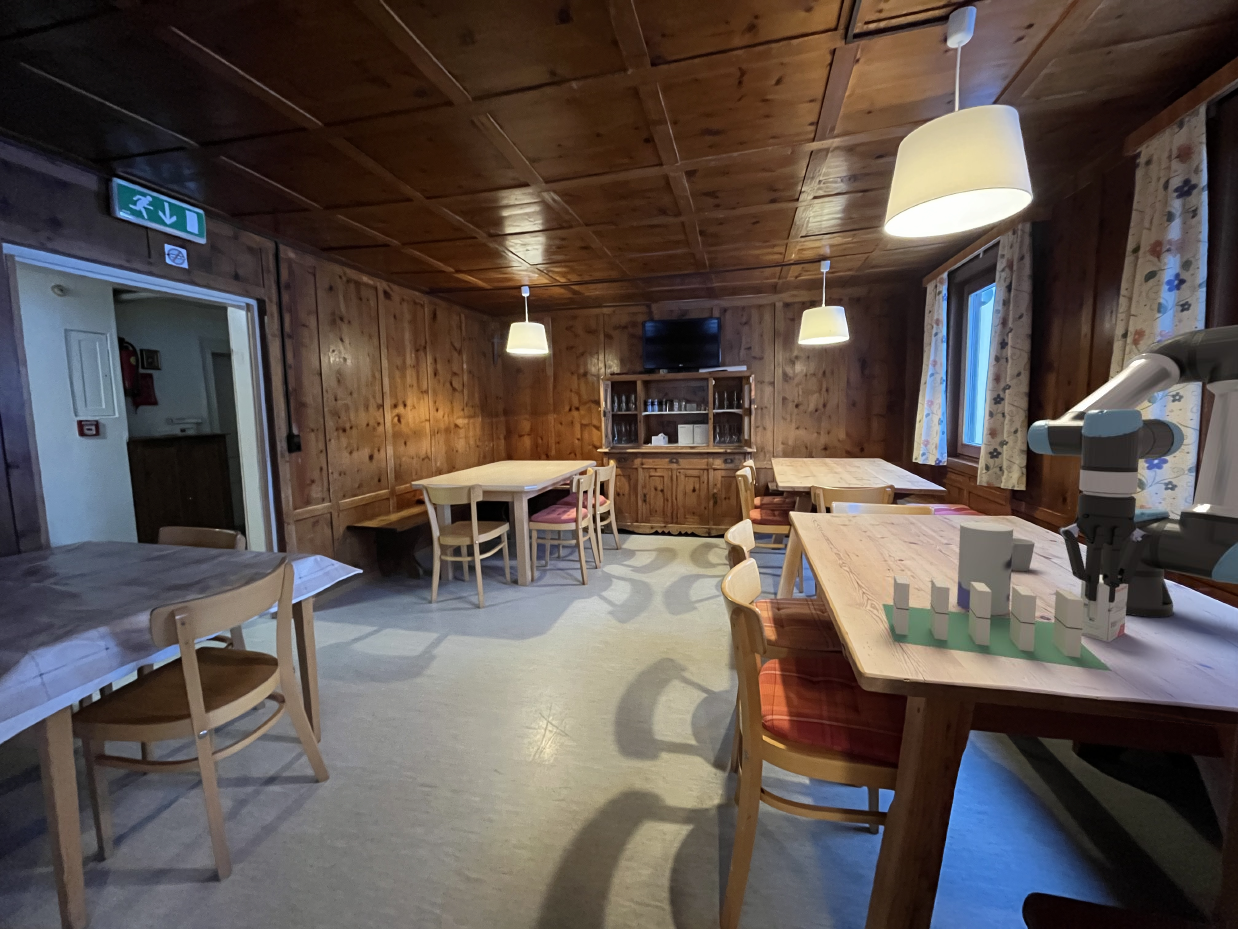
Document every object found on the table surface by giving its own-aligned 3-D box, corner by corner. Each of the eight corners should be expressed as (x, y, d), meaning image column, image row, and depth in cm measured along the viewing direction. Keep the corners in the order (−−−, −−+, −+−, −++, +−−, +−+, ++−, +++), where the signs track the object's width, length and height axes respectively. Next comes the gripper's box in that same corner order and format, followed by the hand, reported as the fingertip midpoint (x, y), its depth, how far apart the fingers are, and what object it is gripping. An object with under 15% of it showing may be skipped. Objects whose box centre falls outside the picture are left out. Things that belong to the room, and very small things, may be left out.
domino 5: (1067, 645, 97) (1070, 590, 96) (1080, 657, 92) (1084, 600, 91) (1052, 643, 98) (1055, 589, 97) (1065, 655, 93) (1068, 599, 92)
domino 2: (941, 629, 105) (943, 579, 104) (947, 640, 100) (949, 587, 99) (929, 628, 106) (931, 578, 105) (934, 638, 101) (936, 586, 100)
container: (1018, 617, 111) (1022, 530, 109) (968, 614, 113) (971, 529, 112) (995, 601, 121) (999, 521, 119) (949, 599, 123) (953, 520, 121)
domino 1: (904, 624, 108) (905, 576, 107) (908, 635, 103) (909, 583, 102) (892, 623, 109) (893, 574, 108) (895, 633, 103) (897, 582, 102)
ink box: (1095, 626, 106) (1098, 572, 105) (1126, 634, 102) (1130, 579, 101) (1076, 635, 102) (1080, 579, 101) (1108, 644, 98) (1112, 586, 97)
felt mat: (1058, 625, 107) (1058, 623, 107) (1112, 673, 87) (1112, 671, 87) (882, 605, 120) (882, 603, 120) (893, 643, 100) (893, 641, 100)
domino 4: (1023, 639, 100) (1025, 586, 99) (1033, 651, 94) (1036, 596, 93) (1009, 637, 100) (1012, 585, 99) (1019, 649, 95) (1022, 594, 94)
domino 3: (981, 634, 102) (983, 582, 101) (989, 645, 97) (991, 591, 96) (968, 632, 103) (970, 581, 102) (975, 644, 98) (977, 590, 97)
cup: (1038, 570, 145) (1040, 541, 144) (1020, 575, 140) (1021, 546, 139) (1009, 563, 151) (1010, 536, 151) (990, 568, 147) (991, 540, 146)
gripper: (1141, 492, 91) (1132, 615, 93) (1053, 489, 96) (1046, 606, 98) (1167, 498, 84) (1157, 631, 86) (1071, 495, 89) (1063, 620, 91)
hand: (1098, 617), depth 92 cm, fingers closed
